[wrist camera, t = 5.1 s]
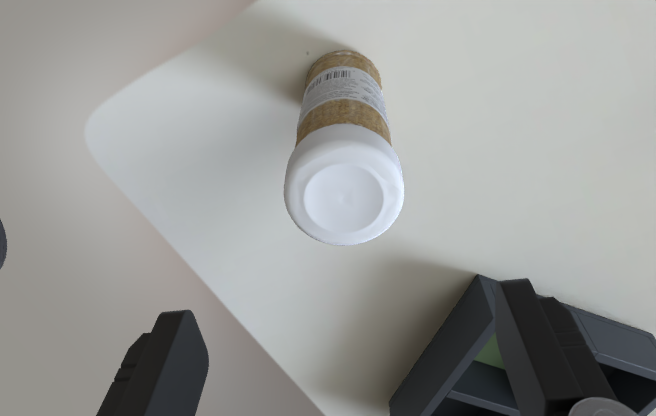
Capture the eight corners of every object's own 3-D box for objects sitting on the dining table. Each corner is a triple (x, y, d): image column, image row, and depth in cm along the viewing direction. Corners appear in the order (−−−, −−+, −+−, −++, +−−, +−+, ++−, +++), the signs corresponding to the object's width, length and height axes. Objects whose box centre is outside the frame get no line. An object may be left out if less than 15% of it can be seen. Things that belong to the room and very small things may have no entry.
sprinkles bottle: (311, 126, 32) (292, 255, 20) (300, 52, 29) (271, 150, 18) (385, 117, 31) (409, 244, 20) (379, 42, 29) (402, 136, 18)
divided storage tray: (388, 401, 45) (392, 450, 41) (477, 273, 37) (493, 318, 33) (540, 445, 47) (558, 495, 44) (652, 333, 40) (686, 381, 36)
